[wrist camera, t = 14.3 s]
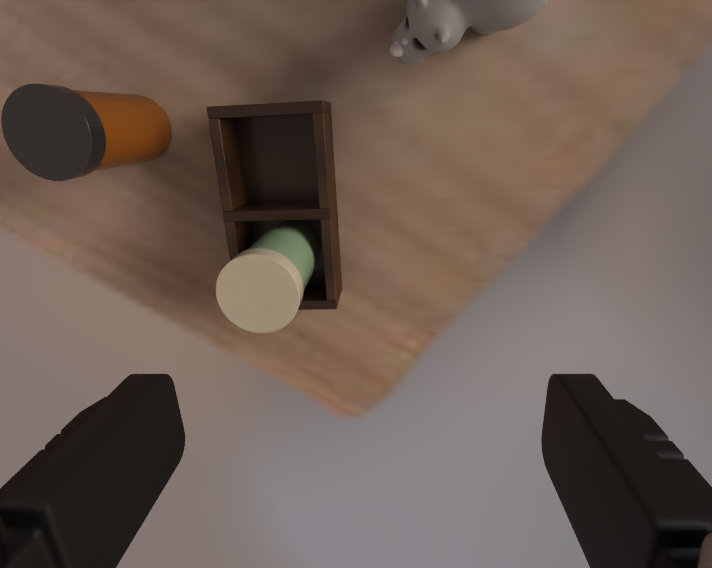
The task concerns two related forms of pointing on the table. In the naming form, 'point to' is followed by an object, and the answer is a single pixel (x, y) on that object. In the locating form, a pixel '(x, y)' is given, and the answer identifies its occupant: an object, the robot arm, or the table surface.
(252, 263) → the green jar
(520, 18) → the chubby cartoon animal
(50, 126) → the amber jar
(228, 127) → the jar stand
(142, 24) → the table surface
